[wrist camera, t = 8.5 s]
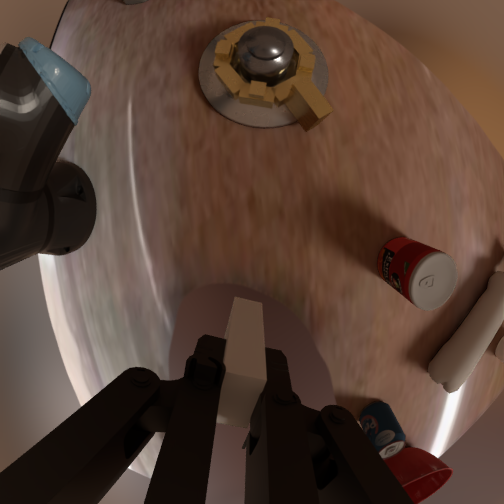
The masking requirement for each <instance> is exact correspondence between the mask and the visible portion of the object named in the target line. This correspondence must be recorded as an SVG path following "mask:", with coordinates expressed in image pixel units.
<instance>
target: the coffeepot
mask: <svg viewBox="0 0 504 504" xmlns="http://www.w3.org/2000/svg"><path fill="white" fill-rule="evenodd" d="M123 1H124V3H125V4H138V3H142V2H145V1H147V0H123Z"/></svg>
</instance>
